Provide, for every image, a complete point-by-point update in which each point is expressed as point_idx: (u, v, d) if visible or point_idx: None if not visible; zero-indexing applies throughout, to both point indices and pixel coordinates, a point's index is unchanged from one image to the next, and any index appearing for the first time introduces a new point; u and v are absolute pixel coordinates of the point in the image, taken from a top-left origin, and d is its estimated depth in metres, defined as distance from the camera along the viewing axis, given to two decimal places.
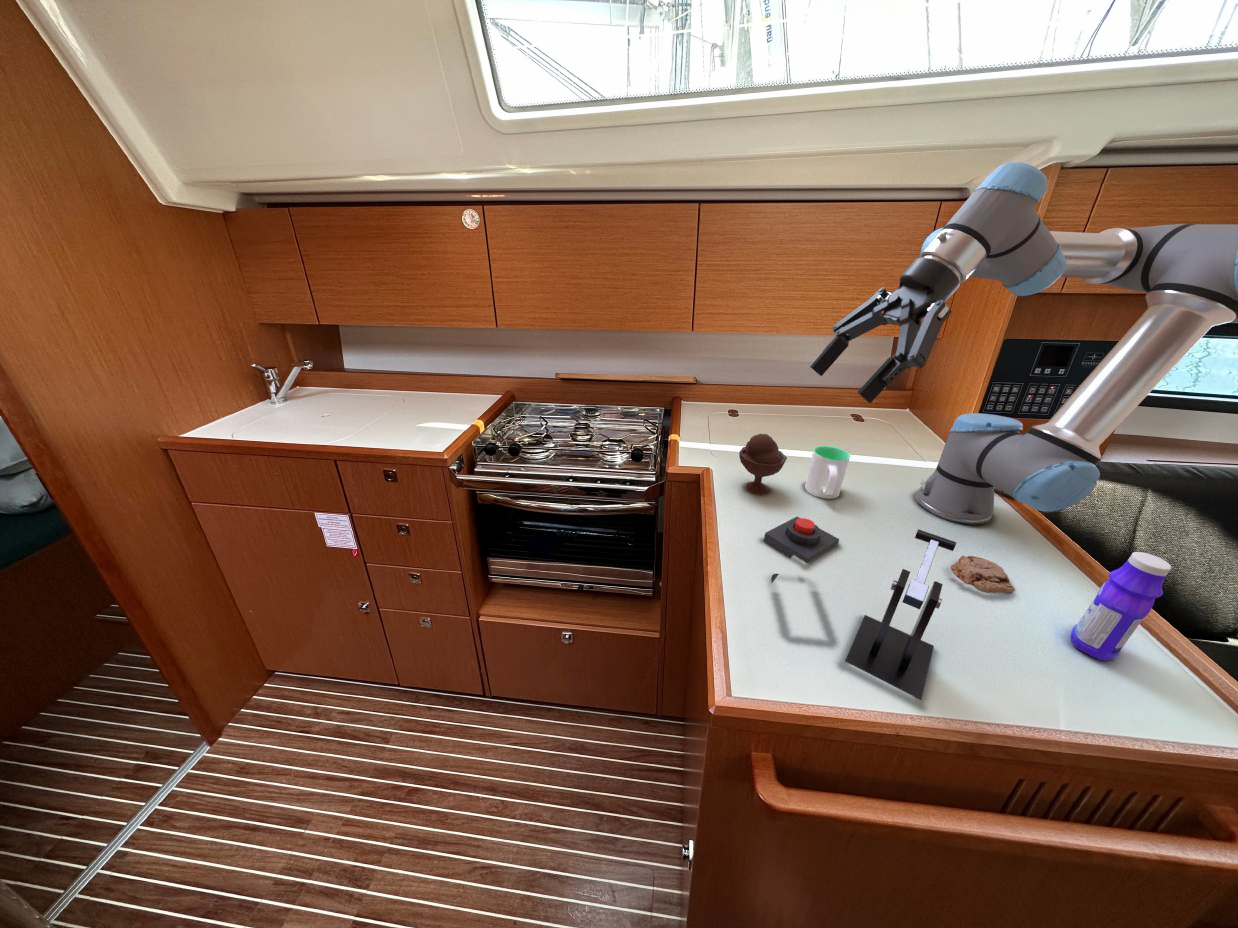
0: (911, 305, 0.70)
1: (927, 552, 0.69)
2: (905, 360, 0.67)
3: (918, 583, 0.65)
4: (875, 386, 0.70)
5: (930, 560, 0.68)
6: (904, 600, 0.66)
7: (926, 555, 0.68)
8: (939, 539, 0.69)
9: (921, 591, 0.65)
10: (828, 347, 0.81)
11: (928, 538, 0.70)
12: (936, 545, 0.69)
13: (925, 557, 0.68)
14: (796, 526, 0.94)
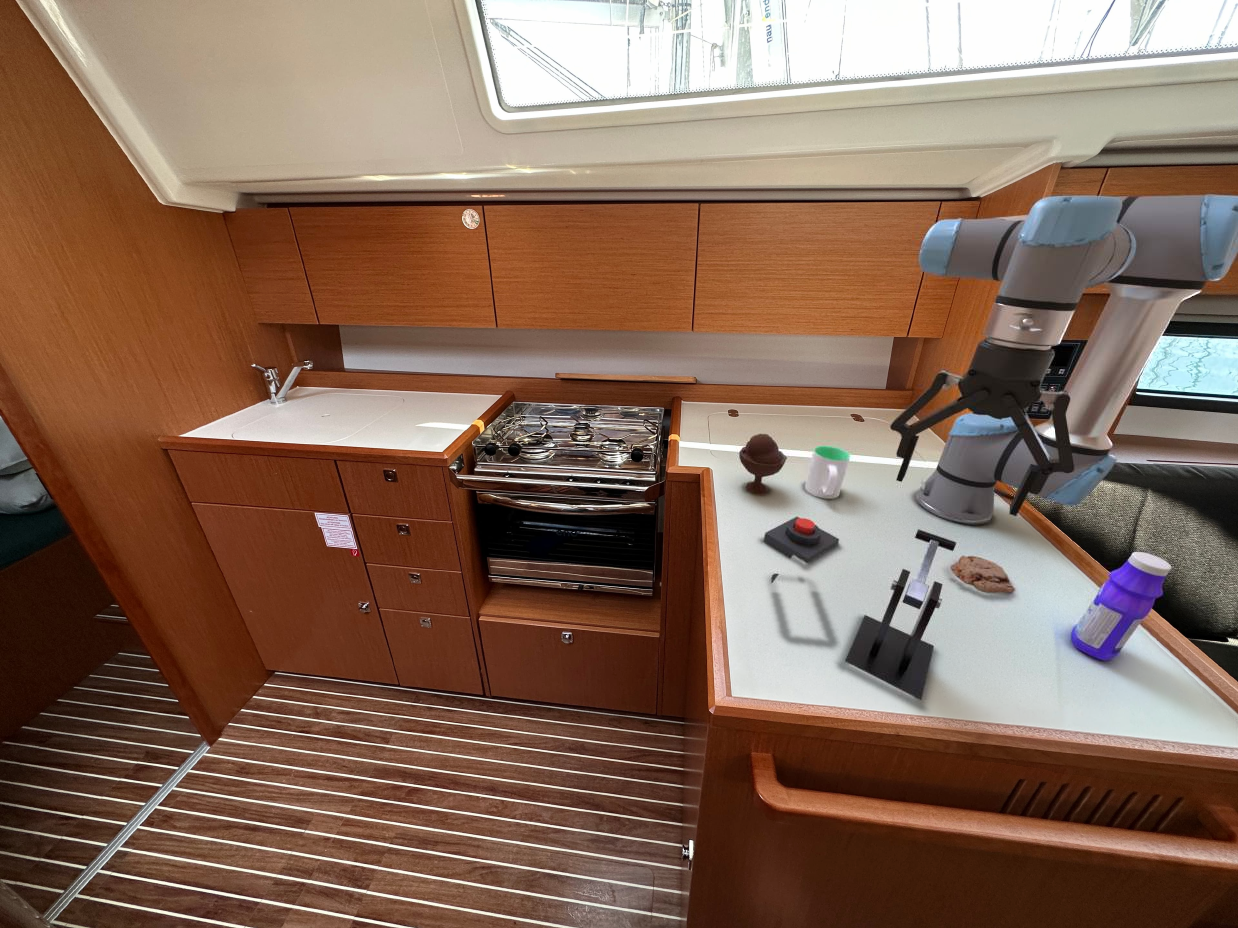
0: (1017, 401, 0.58)
1: (927, 552, 0.69)
2: (1055, 470, 0.58)
3: (918, 583, 0.65)
4: None
5: (930, 560, 0.68)
6: (904, 600, 0.66)
7: (926, 555, 0.68)
8: (939, 539, 0.69)
9: (921, 591, 0.65)
10: (908, 455, 0.67)
11: (928, 538, 0.70)
12: (936, 545, 0.69)
13: (925, 557, 0.68)
14: (796, 526, 0.94)
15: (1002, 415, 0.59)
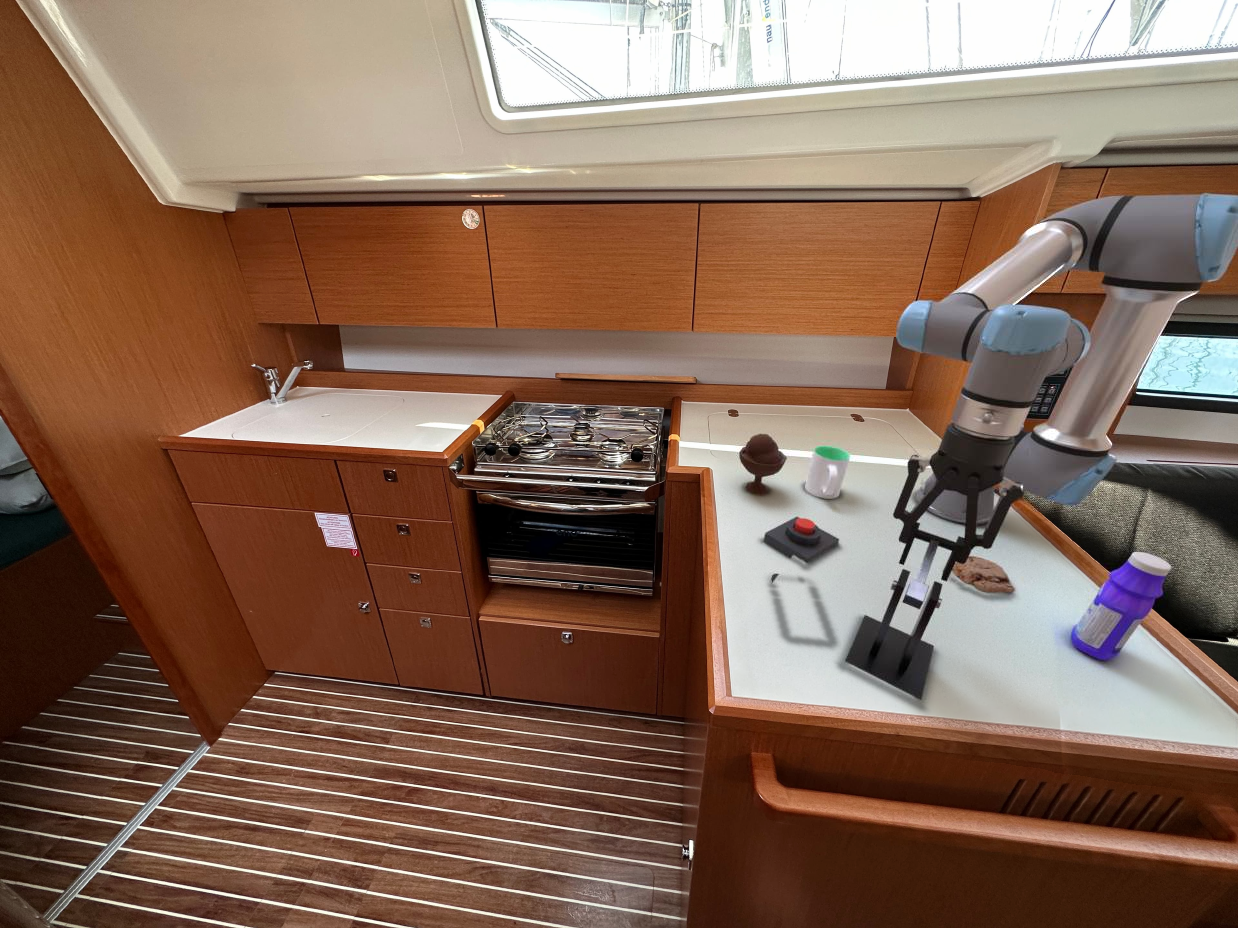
0: (980, 478, 0.63)
1: (927, 552, 0.69)
2: (974, 546, 0.67)
3: (918, 583, 0.65)
4: None
5: (930, 560, 0.68)
6: (904, 600, 0.66)
7: (926, 555, 0.68)
8: (939, 539, 0.69)
9: (921, 591, 0.65)
10: (910, 542, 0.71)
11: (928, 538, 0.70)
12: (936, 545, 0.69)
13: (925, 557, 0.68)
14: (796, 526, 0.94)
15: None
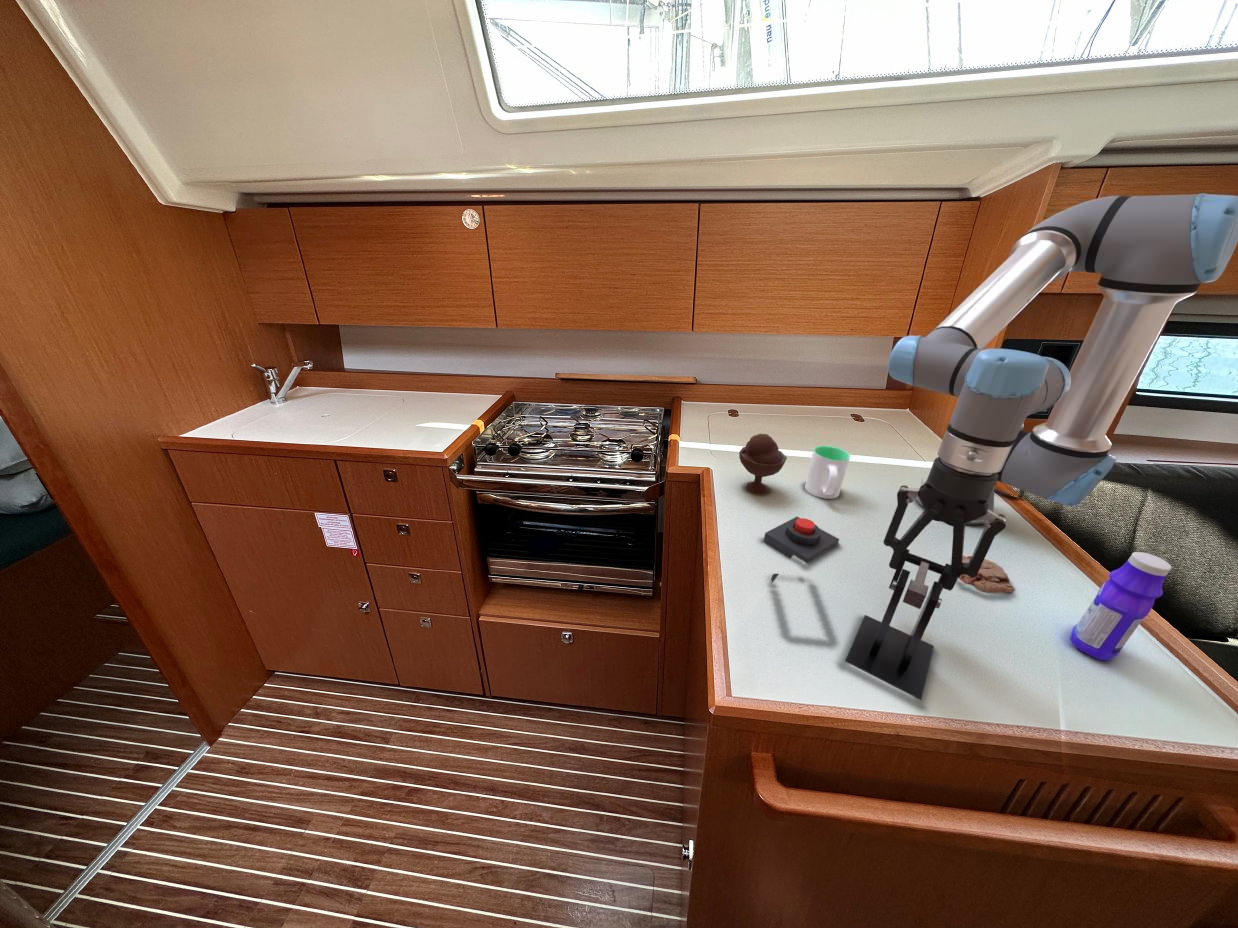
0: (966, 511, 0.66)
1: (920, 568, 0.71)
2: (960, 574, 0.70)
3: (918, 583, 0.66)
4: None
5: (924, 573, 0.70)
6: (905, 598, 0.65)
7: (920, 569, 0.70)
8: (929, 561, 0.72)
9: (922, 588, 0.65)
10: (899, 568, 0.74)
11: (919, 560, 0.73)
12: (927, 565, 0.72)
13: (919, 570, 0.70)
14: (796, 526, 0.94)
15: None
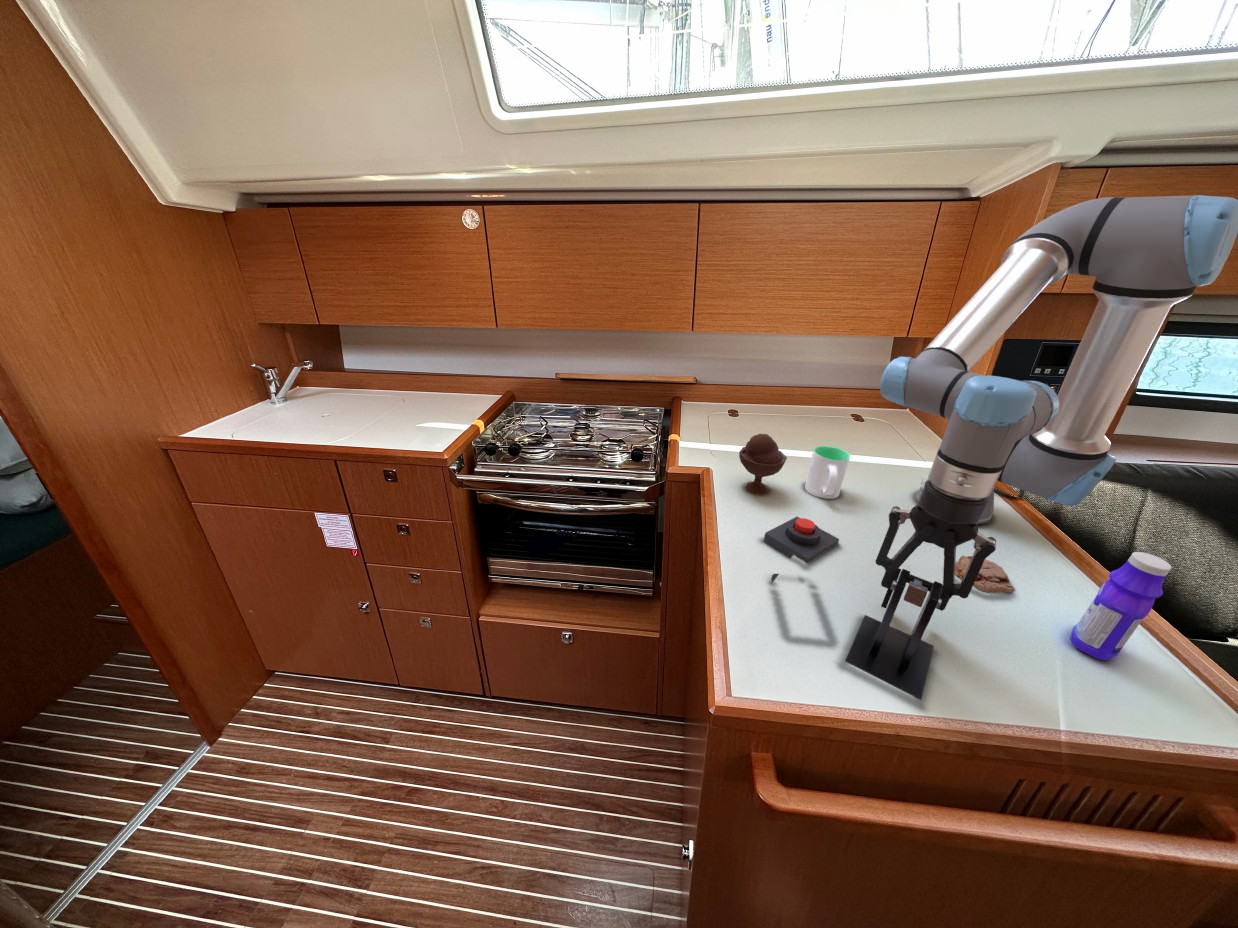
0: (956, 533, 0.67)
1: (915, 581, 0.72)
2: (952, 595, 0.70)
3: (918, 584, 0.66)
4: None
5: (920, 584, 0.70)
6: (906, 595, 0.65)
7: (915, 581, 0.71)
8: (922, 579, 0.73)
9: (922, 587, 0.65)
10: None
11: (912, 577, 0.74)
12: (921, 581, 0.73)
13: (915, 582, 0.71)
14: (796, 526, 0.94)
15: None
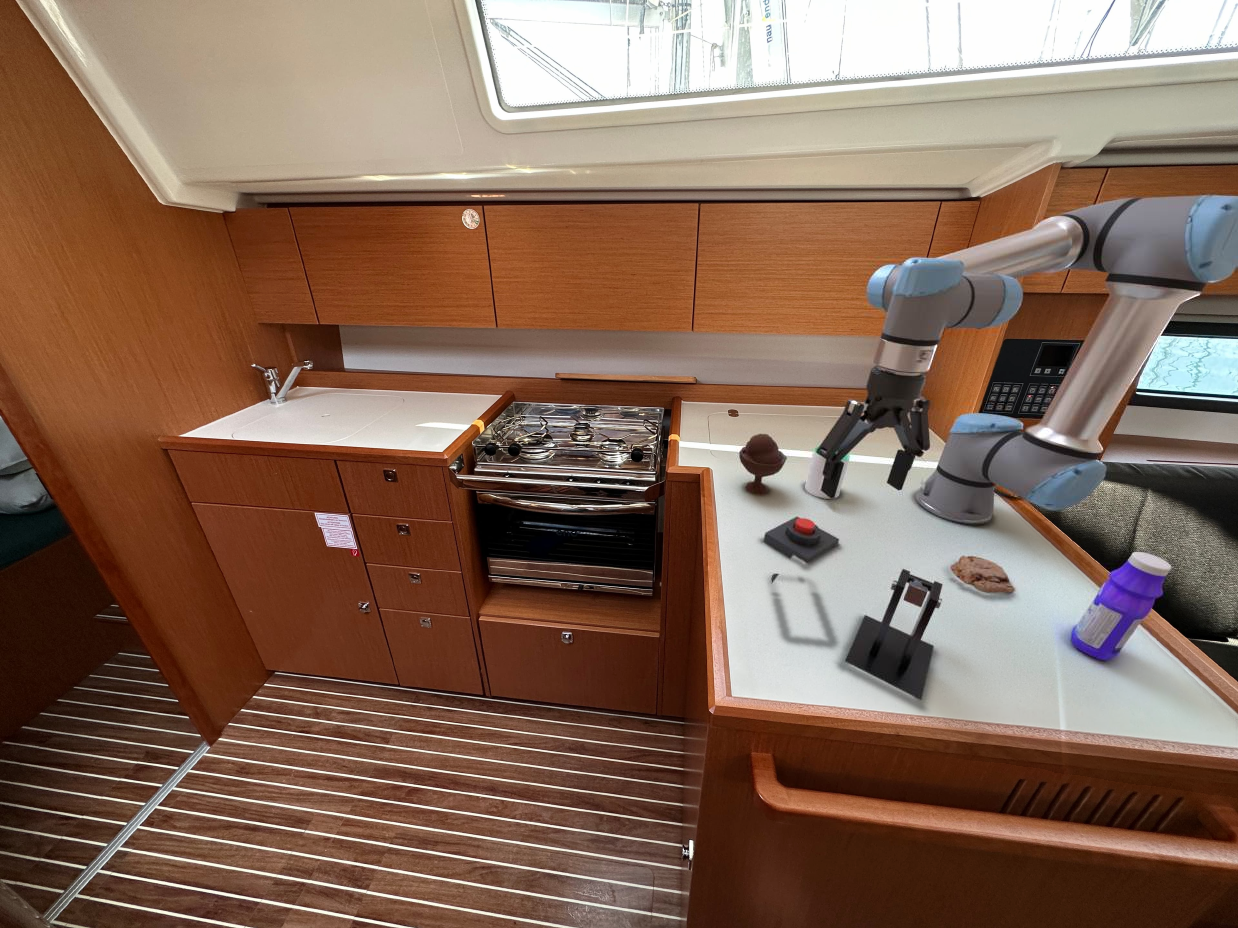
0: None
1: (915, 581, 0.72)
2: None
3: (918, 584, 0.66)
4: None
5: (920, 584, 0.70)
6: (906, 595, 0.65)
7: (915, 581, 0.71)
8: (922, 579, 0.73)
9: (922, 587, 0.65)
10: (839, 475, 0.76)
11: (912, 577, 0.74)
12: (921, 581, 0.73)
13: (915, 582, 0.71)
14: (796, 526, 0.94)
15: (895, 424, 0.74)
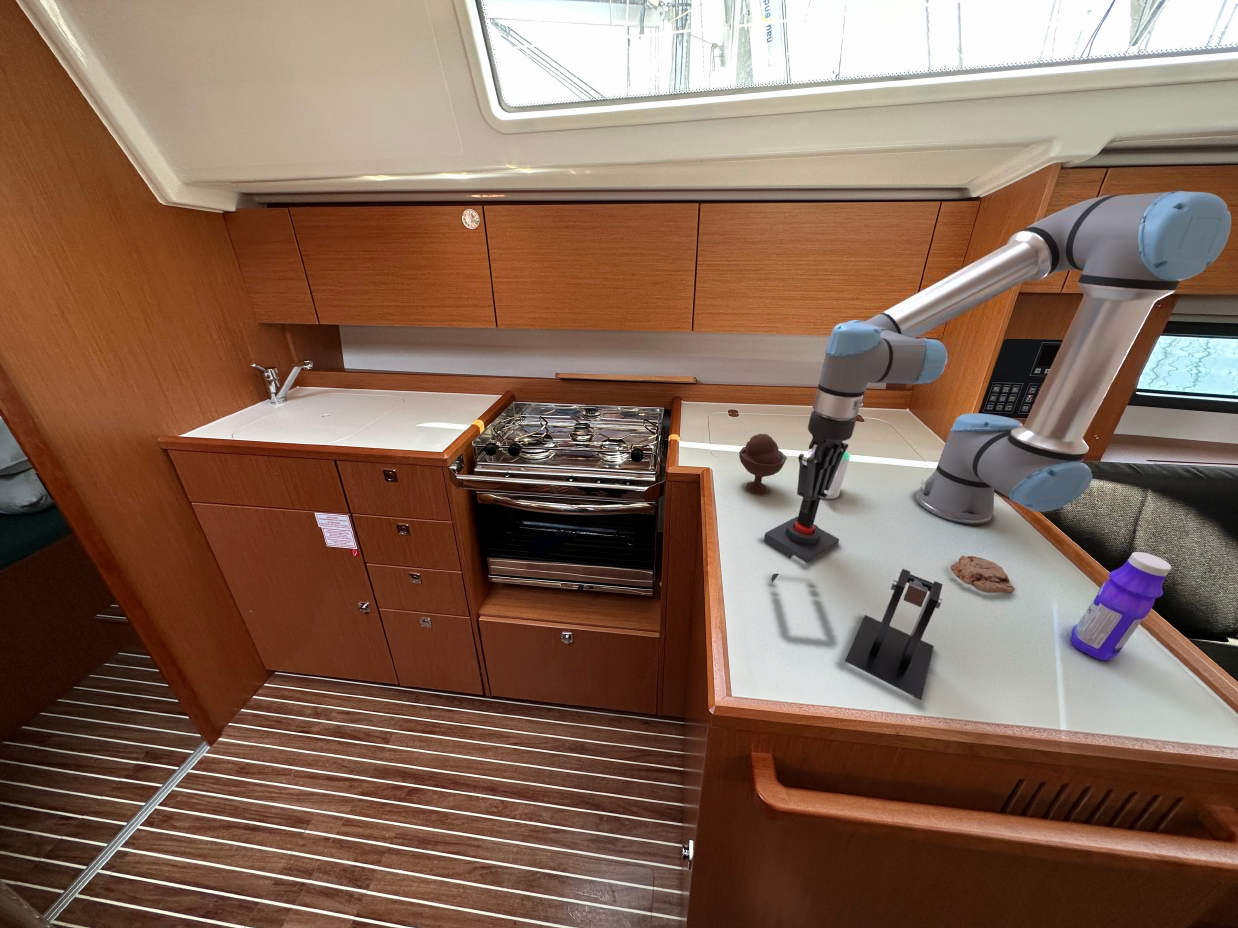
0: (838, 444, 0.86)
1: (915, 581, 0.72)
2: None
3: (918, 584, 0.66)
4: None
5: (920, 584, 0.70)
6: (906, 595, 0.65)
7: (915, 581, 0.71)
8: (922, 579, 0.73)
9: (922, 587, 0.65)
10: (814, 509, 0.91)
11: (912, 577, 0.74)
12: (921, 581, 0.73)
13: (915, 582, 0.71)
14: (796, 527, 0.95)
15: None
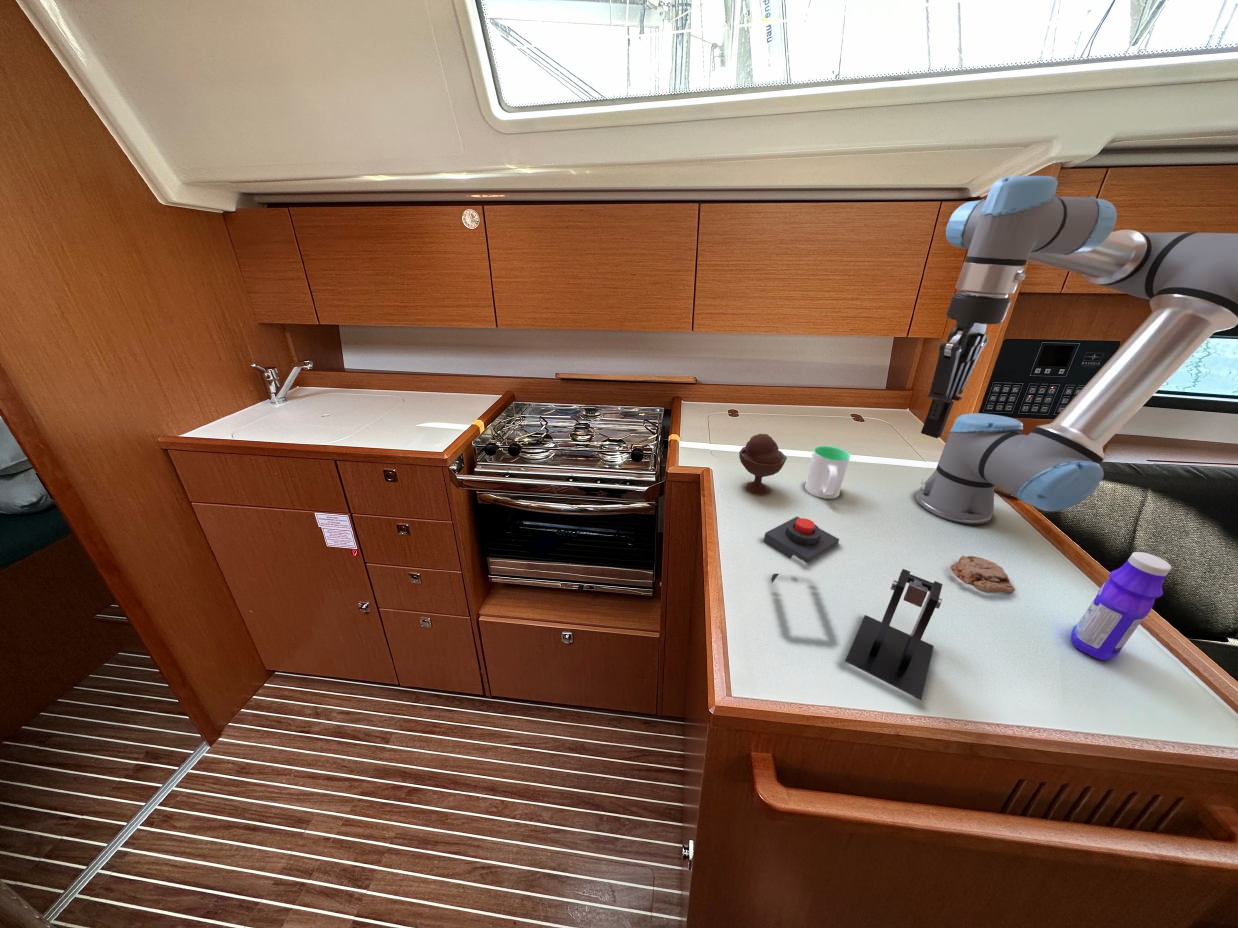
0: (982, 333, 0.75)
1: (915, 581, 0.72)
2: None
3: (918, 584, 0.66)
4: None
5: (920, 584, 0.70)
6: (906, 595, 0.65)
7: (915, 581, 0.71)
8: (922, 579, 0.73)
9: (922, 587, 0.65)
10: (946, 415, 0.80)
11: (912, 577, 0.74)
12: (921, 581, 0.73)
13: (915, 582, 0.71)
14: (796, 526, 0.94)
15: (972, 351, 0.76)
